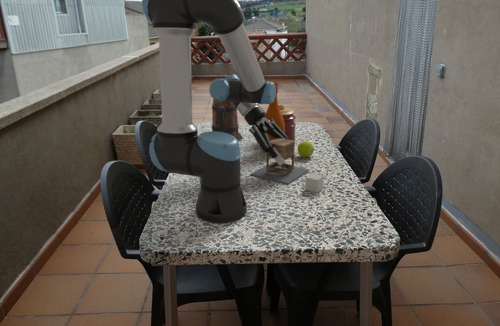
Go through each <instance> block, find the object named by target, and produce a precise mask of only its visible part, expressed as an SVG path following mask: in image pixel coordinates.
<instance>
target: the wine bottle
mask: <svg viewBox="0 0 500 326" xmlns="http://www.w3.org/2000/svg"><path fill="white" fill-rule="evenodd" d="M271 82H273V83H274V84H275V86H276V96H275V99H274V101H273V103H271V104H268V107H267V110H266V112H265V118H266V119H268V120H271V119H273V120H274V121H275V123H276V124H277V125H278V126H279V128H280V129H281V130H282V131H283V132H284V133H285V124H284V119H283V116H282V114H281V112H280V104H279V102H278V92H279V89H278V88H279V82H278V81H276V80H273V81H271ZM270 129H271V128H270ZM267 135H268V137H269V139H270V141H271V140H273V139H275V138H274V137H272V136H271V135H270V134H267ZM264 153H265V154H267V153H266V152H264Z"/></svg>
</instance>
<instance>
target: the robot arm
mask: <svg viewBox="0 0 500 326" xmlns="http://www.w3.org/2000/svg"><path fill="white" fill-rule="evenodd" d="M141 5H142V11H143V13H144V14H145V15H144V16H145V18H146V19H147V20H148V22H151V23H152V30H153V31H154V32H155V34H157V36H158V44H159V45H158V46H159V47H158V48H159V51H158V52H159V67H160V68H159V71H160V72H159V73H160V74H159V75H160V96H161V97H160V98H161V99H160V101H161V102H160V103H161V119H162V120H161V124H160V125H159V126H158V127H157V129H156V132H157V133H155V134H154V135H152V137H151V140H150V141H151V142H150V143H149V147H148V148H149V150H148V151H149V157H150V160H151V162H152V164H153V166H155V167H156V168H157V169H158V170H160V171H162V172H166V173H169V174H177V175H185V176H190V177H191V176H192V177H197V178H199V182H200V183H199V184H200V187H199V188H200V189H199V192H198V196H197V199H196V203H195V215H196V216H197V218H199V220H202V221H204V222H208V223H212V224H225V223H231V222H235V221H238V220H240V219H243V217H245V216H246V214H247V212H248V209H247V208H248V205H247V201H246V198H245V195H244V193H243V189H242V187H241V150H240V149H241V148H240V147H241V146H240V141H238V140H237V139H236V138H235V137H234V136H232V135H230V134H227V133H223V132H216V131H215V132H212V130H211V131H203V132H201V133H198V132H199V130H198V126H196V125H195V124H194V123H193V95H192V93H193V92H192V91H193V89H192V87H193V86H192V46H191V45H192V39H191V37H192V36H193V35H194V34H195V32H196V31H197V23H199V24H200V23H202V24H205V25H208V26H209V27H210V29H211V31H212V33H214V34H215V35H217V36H218V37H219V39H220V41H221V44H222V46H223V47H224V49H225V50H224V51H225V52H226V54H227V57H228V58H229V60H230V63H231V64H232V66H233V69H234V71H235V73H236V74H234V73H233V74H230V75H228V76H226V77H225V78H216V79H213V80H212V82H211V83H210V85H209V88H208V89H209V90H208V91H209V96H211V98H212V99H215V100H218V101H230V102H232V103H233V104H234V106H235V107H236V108H237V112H239V113H240V115H241V116H242V117H243V119H244V120H245V122H246V123H247V124H248V125H249V126H251V127H250V128H249V129H248V130H249V131H248V132H250V133H251V134H252V136H253V137H254V140H255V141H256V142H257V145H259V146H258V147H260V149H261V151H262V152H264V153H265V152H266V153H265V154H267V152H269V153H270V154H271V156H272V157H273V158H272V159H274V162H277V163H278V165H279V166H281V165H282V164H283V163H286V162H287V161H286V160H284V159H283V157H282V156H281V155H280V153H279V152H278V151H277V149H276V148H275V147H274V148H273V147H272V144H271V142H270V139H269V137H268V135H267V134H270V135H271V136H272V137H274V138H282V139H288V136H287V135H286V134H285V133H284V132H283V131H282V130H281V129H280V128H279V126H278V125H277V124H276V123H275V121H274V120H273V119H271V120H268V119H266V118H265V114H266V112H265V111H264V108H262V106H261V105H269V104H271V103H273V101H274V99H275V96H276V86H275V84H274V83H273V82H272V81H269V80H267V81H266V79H265V77H264V74H263V72H262V69H261V67H260V64H259V61H258V59H257V56H256V54H255V53H256V52H255V51H254V48H253V46H252V43H251V40H250V39H249V35H248V33H247V30H246V28H245V25H244V21H245V14H244V12H243V9H242V7H241V4H240V3H239V2H238V0H141ZM270 128H271V129H270ZM297 156H298V155H297V153H296V152H295V151H294V158H296V157H297ZM289 159H290V160H291V161H292V157H290V158H289Z"/></svg>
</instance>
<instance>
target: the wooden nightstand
mask: <svg viewBox="0 0 500 326" xmlns="http://www.w3.org/2000/svg"><path fill="white" fill-rule="evenodd" d="M270 142H271V144H272V147H273V148H274V147H275V148H276V149H277V151H278V152H279V153H280V155H281V156H282V157H283V159H284V160H285V161H286V160H288V159H290V157H292V160H291V164H289V163H286V162H285V163H283V164H282V165H281V166H280V167H282V170H279V169H275V167H276V166H279V165H278V163H277V162H276V161H274V162H275V163H273V164H271V165H270V166H269V164H270V163H269V162H270V159H274V158H273V157H272V156H271V154H270V153H269V152H267V153H265V154H266V160H265V161H266V165H265V166H266V171H268V172H273V173H277V174H281V175H285V174H286V173H288V172H290V171H291V170H293V169H294V166H295V157H294V152H295V142H296V140H295V141H293V140H288V139H282V138H275V139H273V140H271V141H270ZM269 158H270V159H269ZM285 168H286V169H285Z"/></svg>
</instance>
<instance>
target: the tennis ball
mask: <svg viewBox="0 0 500 326" xmlns="http://www.w3.org/2000/svg"><path fill="white" fill-rule="evenodd" d="M314 150H315V147H314V145H313V143H312V142H311V141H308V140H305V141H304V140H303V141H302V142H300V143H299V144H298V146H297V153H298V154H299V156H300V157H302V158H310V157H312V155H313V154H314Z"/></svg>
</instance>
